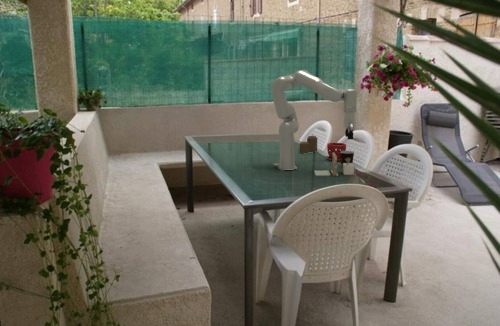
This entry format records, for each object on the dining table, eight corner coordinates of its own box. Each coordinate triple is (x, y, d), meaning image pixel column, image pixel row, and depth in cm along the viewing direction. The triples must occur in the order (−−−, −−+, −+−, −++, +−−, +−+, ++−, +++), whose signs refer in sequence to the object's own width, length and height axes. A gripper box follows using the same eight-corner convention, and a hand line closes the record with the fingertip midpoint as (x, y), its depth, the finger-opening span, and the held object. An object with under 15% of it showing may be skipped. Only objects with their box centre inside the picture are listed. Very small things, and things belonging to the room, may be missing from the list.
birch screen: (333, 176, 258) (333, 156, 255) (330, 171, 270) (331, 152, 268) (338, 176, 257) (338, 156, 255) (335, 171, 270) (335, 152, 267)
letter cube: (344, 174, 261) (344, 164, 259) (342, 172, 266) (342, 162, 265) (354, 174, 260) (355, 164, 259) (353, 172, 266) (353, 162, 264)
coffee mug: (355, 166, 282) (355, 151, 280) (351, 168, 275) (351, 153, 272) (338, 164, 288) (338, 150, 286) (334, 167, 280) (334, 152, 278)
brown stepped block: (316, 150, 338) (316, 132, 335) (317, 154, 325) (317, 134, 322) (299, 150, 340) (299, 132, 337) (299, 154, 326) (299, 134, 323)
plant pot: (345, 162, 295) (346, 145, 292) (326, 161, 297) (327, 145, 295) (345, 158, 307) (346, 142, 305) (327, 158, 310) (327, 141, 307)
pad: (315, 175, 259) (315, 174, 259) (314, 171, 270) (314, 170, 270) (330, 175, 259) (330, 174, 259) (328, 171, 269) (328, 170, 269)
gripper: (341, 108, 263) (341, 135, 267) (345, 111, 247) (344, 140, 250) (353, 108, 263) (353, 135, 267) (358, 111, 246) (357, 140, 250)
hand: (349, 137), depth 258 cm, fingers open, 9 cm apart
